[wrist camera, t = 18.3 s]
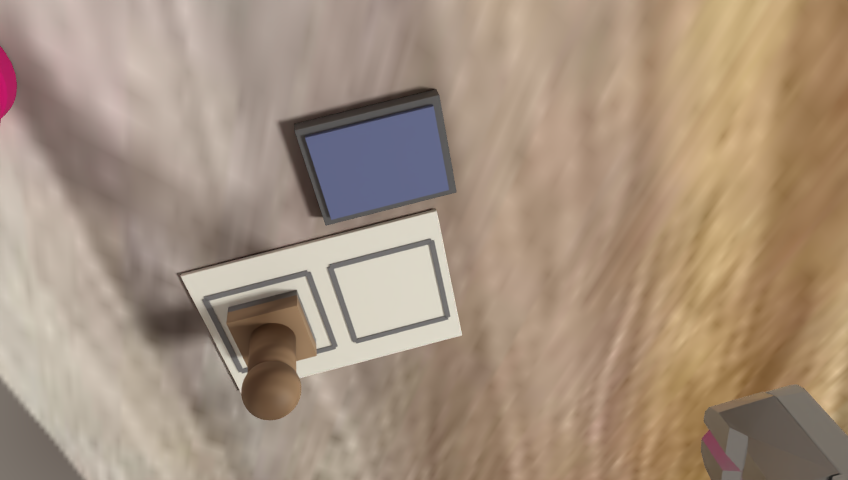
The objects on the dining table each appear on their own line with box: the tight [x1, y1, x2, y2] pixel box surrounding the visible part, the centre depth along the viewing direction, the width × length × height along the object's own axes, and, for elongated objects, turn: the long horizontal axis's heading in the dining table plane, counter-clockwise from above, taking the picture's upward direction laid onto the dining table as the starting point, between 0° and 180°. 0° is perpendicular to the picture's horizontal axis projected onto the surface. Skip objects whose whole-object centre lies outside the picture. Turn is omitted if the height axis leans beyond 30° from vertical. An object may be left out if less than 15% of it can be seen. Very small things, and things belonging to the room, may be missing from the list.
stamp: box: [226, 290, 317, 420], centre depth 43 cm, size 5×5×8 cm
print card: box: [181, 209, 462, 392], centre depth 47 cm, size 18×12×1 cm, turn 101°
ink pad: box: [294, 89, 456, 225], centre depth 41 cm, size 9×7×1 cm
